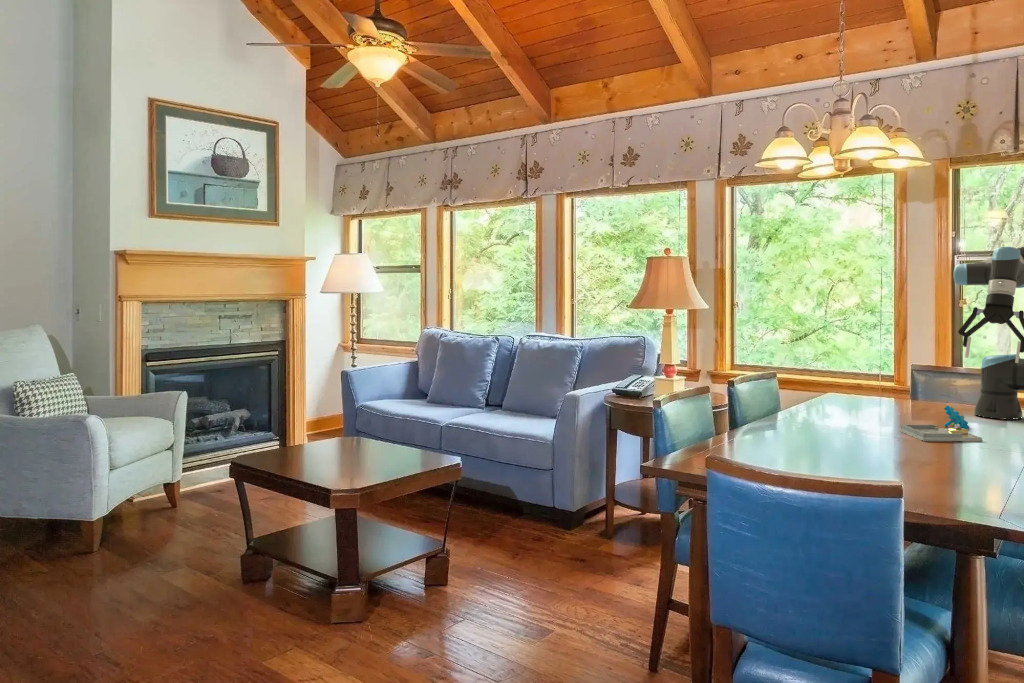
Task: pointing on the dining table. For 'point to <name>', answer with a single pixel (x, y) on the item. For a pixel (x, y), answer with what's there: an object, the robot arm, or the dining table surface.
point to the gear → (955, 418)
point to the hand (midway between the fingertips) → (991, 359)
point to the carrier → (938, 433)
